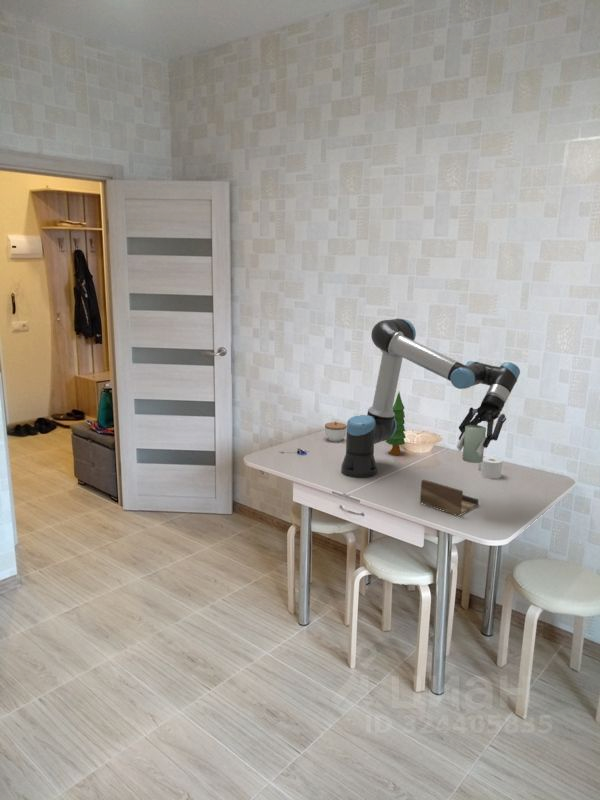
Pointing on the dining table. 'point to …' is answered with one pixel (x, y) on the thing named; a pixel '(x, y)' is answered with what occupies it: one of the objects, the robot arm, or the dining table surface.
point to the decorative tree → (398, 427)
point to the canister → (473, 443)
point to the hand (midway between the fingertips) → (468, 451)
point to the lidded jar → (335, 431)
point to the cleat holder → (446, 498)
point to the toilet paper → (490, 467)
